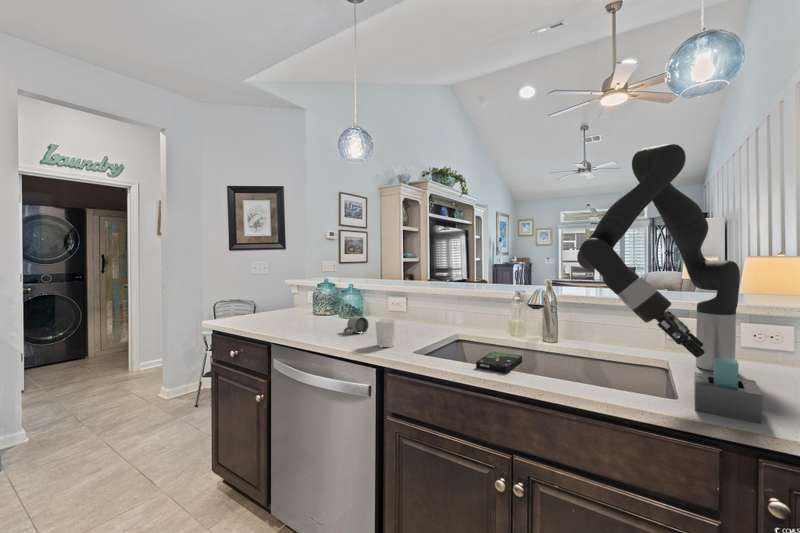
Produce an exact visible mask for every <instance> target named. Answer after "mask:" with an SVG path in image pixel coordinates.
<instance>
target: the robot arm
mask: <svg viewBox="0 0 800 533" xmlns="http://www.w3.org/2000/svg"><path fill="white" fill-rule="evenodd" d="M686 157H687V156H686V152H685V150H684V148H682V146H681V145H679V144H675V143H667V144H661V145H655V146H651V147H645V148H641V149H639V150H637V151H636V152H635V154H634V155H633V157H632V159H631V168H632V172H633V175H634V176H635V179H636V180H637V181H638V184H637V185H636V186H634V187H633V188H632V189H631V190H630V191H628V192H627V193H625V194H624V195H623V196H621V197H620V198H619V199H617V200H616V201H615V202H614V203H613V204H612V205H611V206H610V207H609V208H608V209H607V211H606V212H605V214H603V217H601V219H600V220H599V221H598V223H597V225H596V227H595V229H594V231H593V233H592V234H591V235H590V237H589V238H588V239H585V241H584V242H582V243H581V245H580V247H579V249H578V251H577V255H576V256H577V257H576V258H577V263H578V264H579V265H580V266H581V268H584V269H585V270H589V271H591V270H595V271H597V273H598V274H599V275H600V276H601V278H602V281H603V283H604V284H605V285H606V287H608V288H609V290H611V291H612V292H613V293H614V294H615V295H616V296H617V297H618V298H619V299H620V300H621V301H622V303H623V304H625V305H626V306H627V307H628V308H629V309H630V310H631V311H632V312H633V313H634V314H635V315H636V316H637V317H638V318H639V319H641V320H642V321H643V322H644V323H646V324H647V323H650V322H652V321H653V320H656V322H658V323H657V326H658V328H660V329H661V330H662V331H663V332H665V333H666V334H667V335H668V336H669V337H670V338H671V339H672V341H674V342H675V344H678V346H679V345H680V346H683V347H684V348H685V349H686V350H687V351H688V352H689V353H690V354H692V355H693V357H695V366H696V367H697V368H700V369H703V370H706V371H711V372H714V357H715V358H723V359H731V360H736V343H737V342H736V341H737V336H736V334H737V333H736V332H737V329H736V328H737V308H738V303H739V291H740V283H741V282H740V281H741V271H740V270H741V269H740V267H739V266H738V264H737V262H735V261H732V260H718V259H717V260H714V259H713V260H708V259H706V258H705V257H704V254H703V253H702V246H703V244H704V242H705V239H706V237H707V236H708V233H709V232H708V231H709V224H708V223H709V222H708V221H707V219H706V217H705V214H704V213H703V210H702V209H701V207H700V206H699V204H697V202H695V201H694V200H693V199H691V197H689V196H687V195H686V194H685V193H683V192H682V191H680V190H679V189H677V188H676V187H675V186H674V185H673V184H672V182H673V181H674V180H675V179H676V178H677V176H679V174H680V173H681V172H682V170H683V169H684V166H685V164H686V160H687V159H686ZM651 202H652V203H653V205H654V207H655V208H656V210H657V212H658V214H659V215H660V217H661V219H662V222H663V224H664V226H665V228H666V229H667V231H668V233H669V235H670V237H671V238H672V240H673V241H674V244H675V245H676V247H677V249H678V251H679V254H680V256H681V258H682V262H683V264H684V266H685V269H686V272H687V274H688V277H689V279H690V281H691V283H692V284H693V285H694V287H696V288H697V289H700V290H704V291H705V290H706V291H716V295H715V297H713V298H711V299H709V300H708V299H707V300H703V301H699V302H698V303H697V304H696V329H695V330H696V331H695V332H696V334H695V335H696V336H695V335H694V334H693V333H692V332H691V330H690V329H689V328H688V326H687V325H686V324H685V323H684V322H683V321H681V320H680V319H679V318H678V316H676V314H674V313H673V314H672V312H671V311H670V310H668V309H669V308H670V307H671V306H672V302H671V301H670V300H669V299H668V298H666V297H665V296H664V295H663V294H662V293H661V292H659V290H657V289H656V287H654V286H653V285H651V284H650V283H649V282H648V281H647V280H645V279H643V278H642V277H641V276H639V275H638V274H637V273H636V272H635V271H634V270H632V269H631V267H630V266H628V265H627V264H626V263H625V262H624V260H623V259H622V258H621V256H620V255H619V254H618V253H617V252H616V250H615V249H614V247H615V246H616V245H617V244H618V242H619V241H620V240H621V239H622V238H623V237H624V236H625V234H626V233H627V232H628V230H629V229H630V228H631V226H632V225H633V224H634V222H635V220H636V219H638V216H640V214H641V213H642V212H643V211H644V210H645V208H647V206H648V205H649V204H650V203H651ZM666 310H667V311H666Z"/></svg>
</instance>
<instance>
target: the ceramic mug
mask: <svg viewBox="0 0 800 533" xmlns="http://www.w3.org/2000/svg"><path fill="white" fill-rule="evenodd" d="M346 324H347V325H346V326H347V327H345V328H344V329H343V334H344V333H346V334H347V335H350V334H351V335H352V334H353V333H356V334H358V332H361V331H362V332H365V333H367V331H368V329H369V325H370V324H369V321H368V319H367V318H366V317H365V316H357V315H356V316H351V317H350V318H349V319H348V320H347V323H346ZM346 334H345V335H346Z"/></svg>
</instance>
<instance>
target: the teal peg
mask: <svg viewBox="0 0 800 533" xmlns="http://www.w3.org/2000/svg"><path fill="white" fill-rule="evenodd" d="M739 366H740V365H739V362H738V359H735V360H731V359H723V358H715V357H714V371H713V375H714V383H713V384H716V385H722V386H729V387H735V388H738V378H739Z"/></svg>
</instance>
